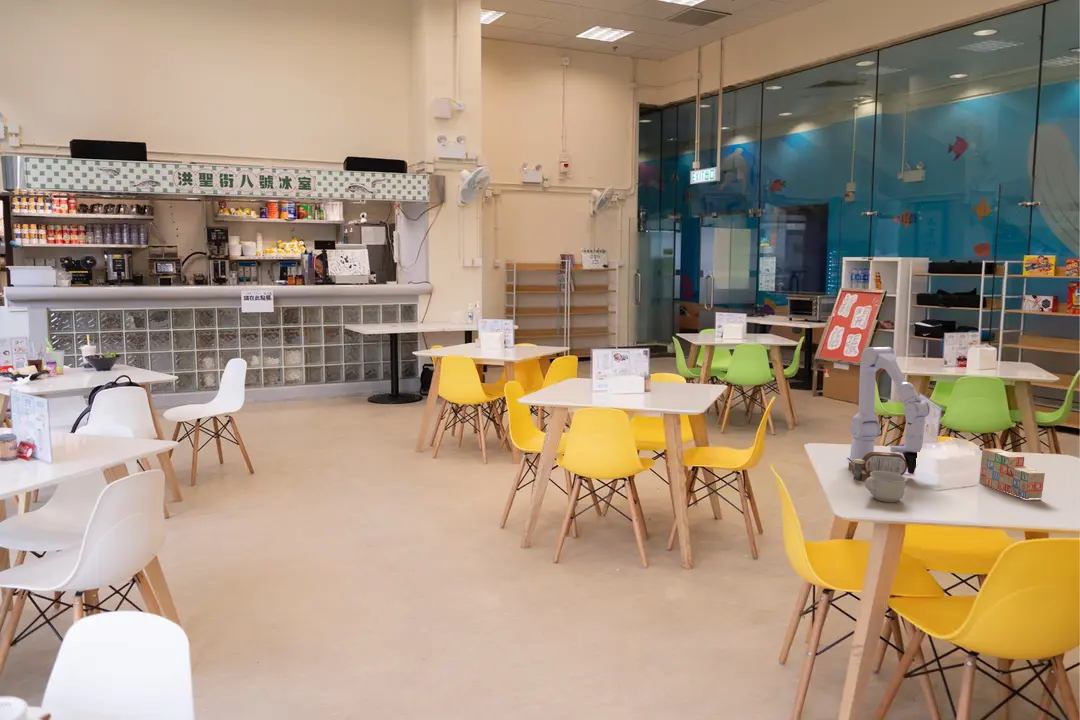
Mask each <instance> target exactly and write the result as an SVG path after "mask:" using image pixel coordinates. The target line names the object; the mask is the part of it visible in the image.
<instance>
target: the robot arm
mask: <svg viewBox="0 0 1080 720" xmlns="http://www.w3.org/2000/svg"><path fill="white" fill-rule="evenodd" d="M859 365H860V366H859V386H858V387H859V388H858V412H857V413H856V414H855V415H854V416H853V417H852V419H851V424H850V427H849V432H850V435H851V436H852V440H851V443H850V453H849V455H850V456H847V459H848V460H850V462H852V461H853V459H861V460H862V459H863V457H864V456H865V455H866V454H868V453H870V452H875V451H874V450H875V440H877V437H878V436H880V433H881V425H880V419H879V417H878V416H877V415H876V414H875V399H876V396H875V395H876V375H877V373H876V372H877V371H879V370H880V369H882V370H885V371H886V373H887V374H888V376H889V377H890V378H891V380H892V382H893V383H894V384H895V385H896V389H895V392H896V395H897V396H898V398H899V399H900V401H901V403H902V404H903V405H904V408H903V414H904V417H905V422H906V423H905V432H904V434H905V435H904V445H891V446H890V453H900V454H901V453H902V455H903V458H904V459H905V460H906V462H907V473H908V474H909V475H914V474H915V470H916V467H917V466H916V458H917V452H920V450H921V448H922V447H923V444H924V443H923V442H924V431H925V424H926V418H927V417H928V415H929V414H930V412H931V409H930V405H929V403H928V402H927V401H926V400H924V399H922V398H921V397H920V396H919V394H918V393H917V390H916V389H915V386H914V384H913V383H911V382H908V381H907V380H906V378H905V377H904V374H903V372H902V370H901V367H900V366H899V364H898V362H897V354H896V353H895V351H894V349H893V348H892V347H890V346H885V347H884V346H881V347H877V346H876V347H873V346H869V347H867V348H865V349H863V351H862V352H861V361H860V364H859Z"/></svg>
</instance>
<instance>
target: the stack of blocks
mask: <svg viewBox="0 0 1080 720" xmlns="http://www.w3.org/2000/svg"><path fill="white" fill-rule="evenodd" d="M1045 475H1046V474H1045V472H1043V471H1040V470H1038V469H1034V468H1031V467H1029V466H1025V457H1024V456H1023V455H1019V454H1016V453H1014V452H1010V451H1006V450H1004V449H1001V448H982V451H981V461H980V473H979V482H980V483H979V484H981V485H985V486H987V487H989V486H990V488H991V487H992V489H994V488H996V489H999V490H1002V491H1005V492H1008V493H1011V494H1013V495H1016V496H1019V497H1022V498H1025V499H1029V498H1041V497H1042V498H1043V491H1044V490H1043V489H1044V488H1043V487H1044V483H1045V482H1044V481H1045ZM996 489H995V490H996ZM999 490H998V491H999ZM1002 491H1001V492H1002ZM1005 492H1004V493H1005ZM1042 498H1041V499H1042Z"/></svg>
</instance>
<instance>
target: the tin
mask: <svg viewBox="0 0 1080 720" xmlns="http://www.w3.org/2000/svg"><path fill="white" fill-rule="evenodd" d="M862 460H864V461H865V463H864V464H862V468H863V470H868V471H887V472H892V473H896V474H899V475H902V476H904V474H905V473H906V472H907V470H908V468H907V462H906V460H905V457H904V456H902V454H901V453H898V452H895V453H893V452H882V451H874V452H870V453H868V454H866V455H865V456H864V457H863V459H862Z"/></svg>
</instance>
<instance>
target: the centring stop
mask: <svg viewBox="0 0 1080 720" xmlns="http://www.w3.org/2000/svg"><path fill="white" fill-rule="evenodd" d="M864 463H865V461H864V460H861V459H853V461H849V462H848V467H847V469H848V470H849V471H850V472H851V471H852V472H853V473H852V472H851V473H852V474H853V478H854V479H853V480H855V479H856V480H855V481H863V482H865V481H866V479H867V478H869V477H870V472H872V471H868V470H863V468H862V464H864Z"/></svg>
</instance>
